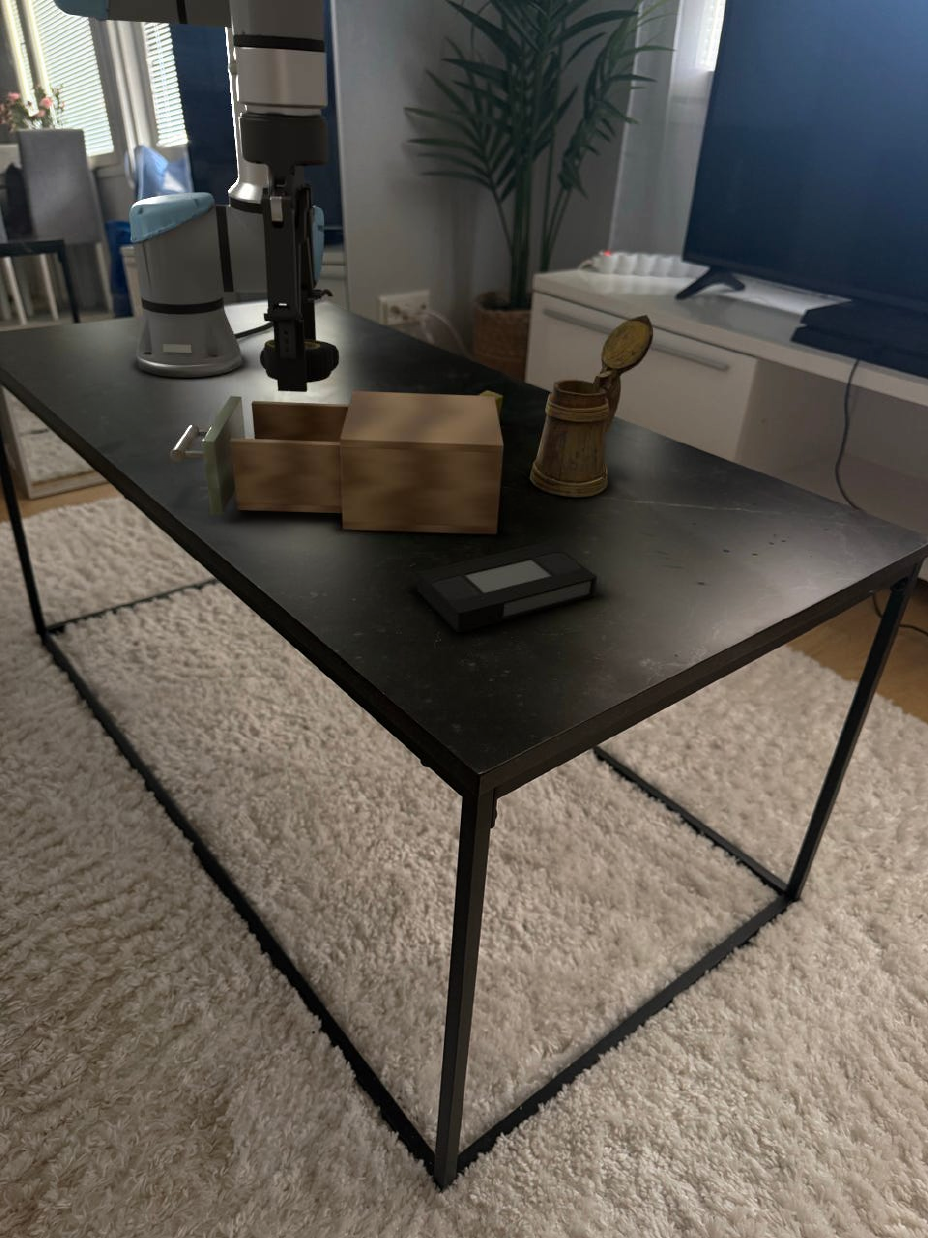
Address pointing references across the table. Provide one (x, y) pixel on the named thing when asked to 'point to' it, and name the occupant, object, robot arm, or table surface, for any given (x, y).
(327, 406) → the drawer
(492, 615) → the vhs tape
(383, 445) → the cabinet
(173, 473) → the table surface
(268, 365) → the tape measure
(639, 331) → the wooden mug
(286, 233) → the robot arm
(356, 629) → the table surface
